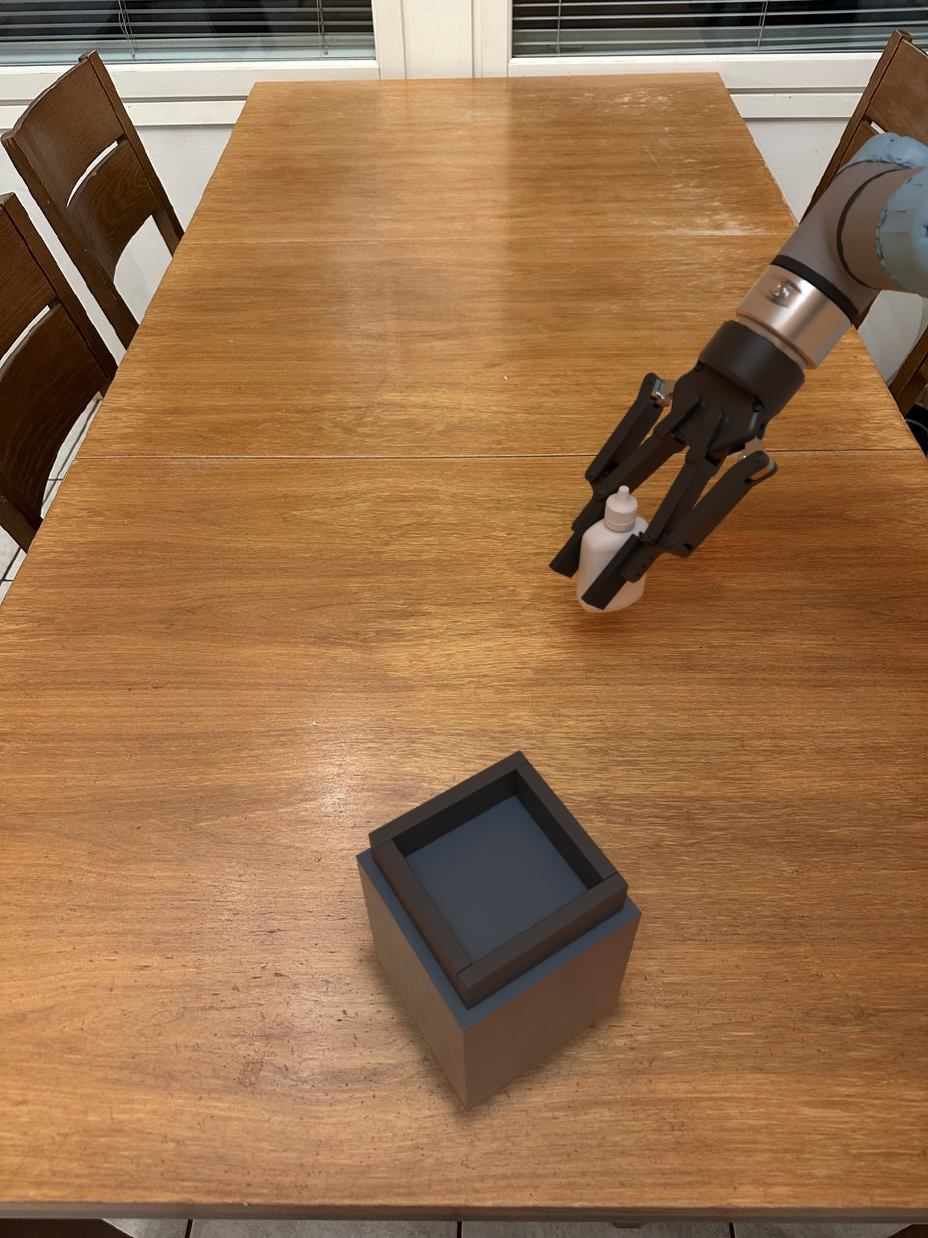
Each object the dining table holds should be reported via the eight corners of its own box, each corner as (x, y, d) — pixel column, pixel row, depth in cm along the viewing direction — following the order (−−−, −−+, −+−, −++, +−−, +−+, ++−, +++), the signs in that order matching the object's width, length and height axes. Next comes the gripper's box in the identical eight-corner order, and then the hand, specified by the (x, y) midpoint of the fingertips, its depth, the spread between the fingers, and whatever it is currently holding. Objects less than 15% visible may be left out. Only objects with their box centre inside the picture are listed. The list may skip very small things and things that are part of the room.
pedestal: (615, 1008, 65) (649, 888, 51) (467, 1112, 60) (462, 1011, 47) (515, 872, 71) (522, 735, 58) (376, 956, 67) (349, 830, 54)
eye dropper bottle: (641, 619, 79) (660, 511, 70) (573, 612, 80) (584, 503, 71) (643, 582, 82) (662, 473, 73) (578, 576, 82) (589, 467, 74)
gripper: (673, 275, 72) (491, 518, 79) (840, 378, 63) (617, 645, 69) (712, 318, 78) (540, 540, 85) (871, 418, 69) (663, 661, 75)
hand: (575, 587), depth 77 cm, fingers closed on eye dropper bottle, 4 cm apart
